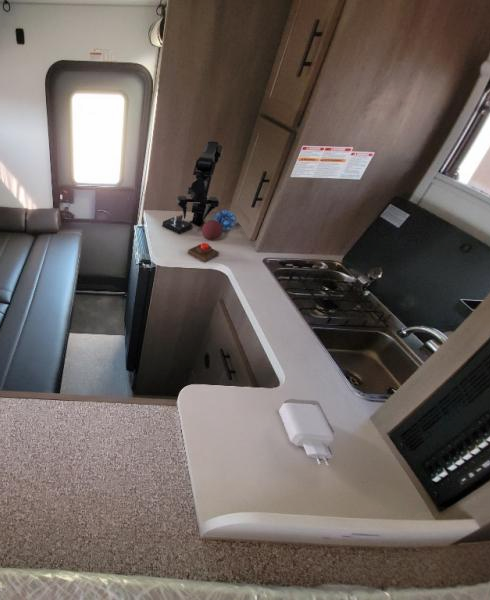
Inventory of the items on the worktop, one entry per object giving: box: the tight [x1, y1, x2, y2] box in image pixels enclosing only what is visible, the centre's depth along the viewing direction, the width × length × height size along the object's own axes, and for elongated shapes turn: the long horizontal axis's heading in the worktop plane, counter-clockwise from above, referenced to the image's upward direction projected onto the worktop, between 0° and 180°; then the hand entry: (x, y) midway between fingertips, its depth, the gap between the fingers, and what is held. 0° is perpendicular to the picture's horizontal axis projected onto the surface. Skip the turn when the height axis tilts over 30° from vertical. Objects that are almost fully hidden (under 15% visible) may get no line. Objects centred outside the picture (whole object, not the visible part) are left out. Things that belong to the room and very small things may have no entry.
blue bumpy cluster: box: [213, 209, 237, 232], centre depth 171 cm, size 12×7×12 cm, turn 88°
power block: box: [187, 243, 220, 263], centre depth 155 cm, size 10×10×4 cm
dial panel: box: [161, 216, 193, 235], centre depth 177 cm, size 10×12×3 cm
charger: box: [278, 402, 336, 467], centre depth 82 cm, size 5×9×15 cm
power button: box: [200, 242, 210, 250], centre depth 153 cm, size 4×4×2 cm
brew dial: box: [173, 213, 184, 224], centre depth 175 cm, size 5×1×4 cm, turn 128°
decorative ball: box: [201, 219, 224, 241], centre depth 165 cm, size 10×10×10 cm
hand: (193, 218), depth 159 cm, fingers open, 9 cm apart
